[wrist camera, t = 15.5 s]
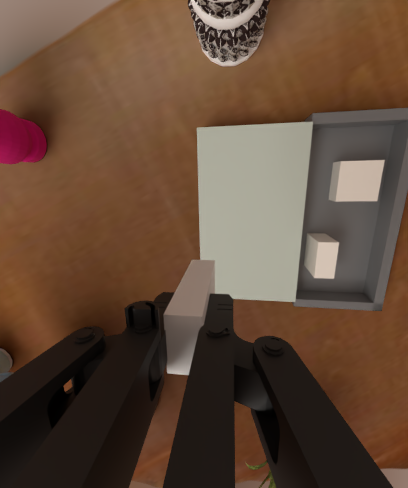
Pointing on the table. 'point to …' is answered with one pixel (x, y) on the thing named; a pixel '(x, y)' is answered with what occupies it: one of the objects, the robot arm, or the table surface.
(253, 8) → the black and white jar
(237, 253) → the board
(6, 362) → the disposable coffee cup
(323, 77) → the table surface
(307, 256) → the tile
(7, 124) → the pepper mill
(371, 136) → the tray
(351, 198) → the tile
